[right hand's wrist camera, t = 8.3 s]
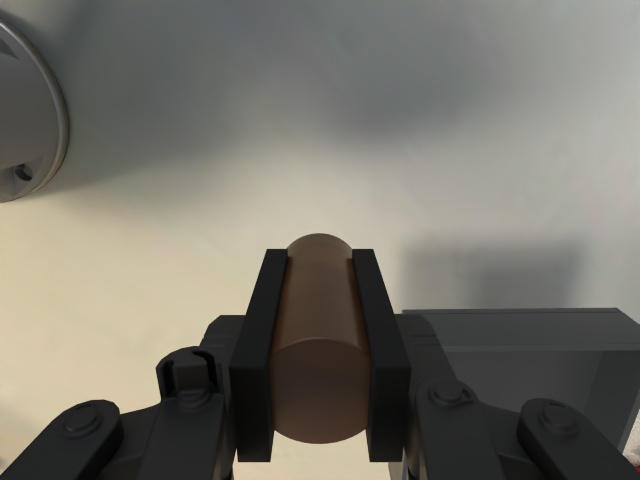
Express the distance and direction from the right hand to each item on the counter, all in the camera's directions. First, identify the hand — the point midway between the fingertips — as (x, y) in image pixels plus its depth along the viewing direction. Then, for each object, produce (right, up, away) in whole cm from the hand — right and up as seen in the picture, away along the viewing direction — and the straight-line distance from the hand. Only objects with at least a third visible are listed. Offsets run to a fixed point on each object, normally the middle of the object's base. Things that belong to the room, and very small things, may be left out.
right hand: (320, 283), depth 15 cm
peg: (0, 0, +1) cm, 1 cm away
